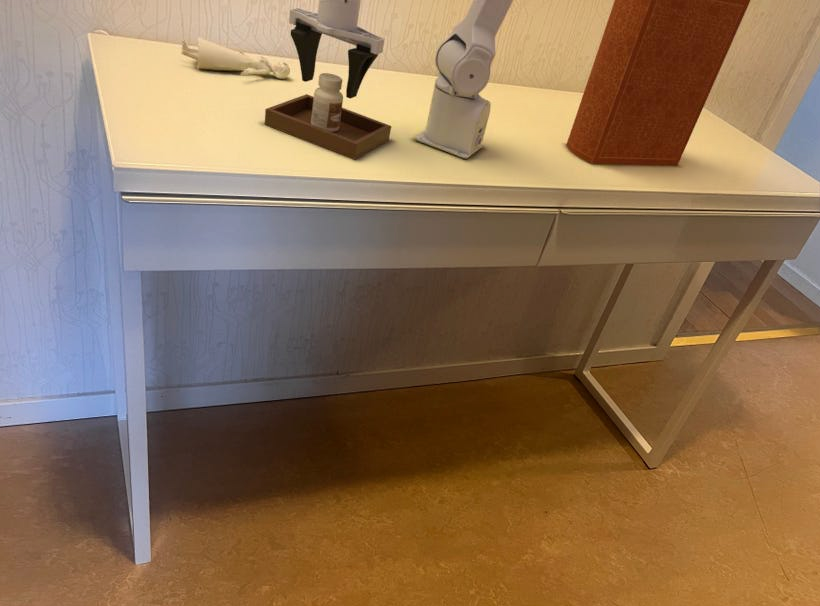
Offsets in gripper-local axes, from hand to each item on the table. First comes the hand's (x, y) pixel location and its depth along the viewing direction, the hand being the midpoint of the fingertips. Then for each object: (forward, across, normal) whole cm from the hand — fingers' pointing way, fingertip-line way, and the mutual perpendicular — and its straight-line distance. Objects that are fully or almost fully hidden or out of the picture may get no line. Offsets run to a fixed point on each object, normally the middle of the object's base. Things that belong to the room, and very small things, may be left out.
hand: (329, 88), depth 105 cm
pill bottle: (+6, 0, 0) cm, 6 cm away
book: (+6, +42, +39) cm, 58 cm away
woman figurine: (+7, -23, +10) cm, 26 cm away
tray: (+6, +1, 0) cm, 7 cm away
